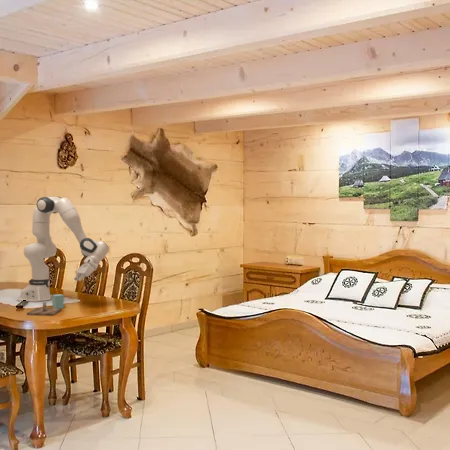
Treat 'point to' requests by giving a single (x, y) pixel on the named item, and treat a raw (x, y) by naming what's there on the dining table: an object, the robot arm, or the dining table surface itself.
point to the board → (44, 311)
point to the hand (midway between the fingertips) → (77, 280)
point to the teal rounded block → (58, 301)
